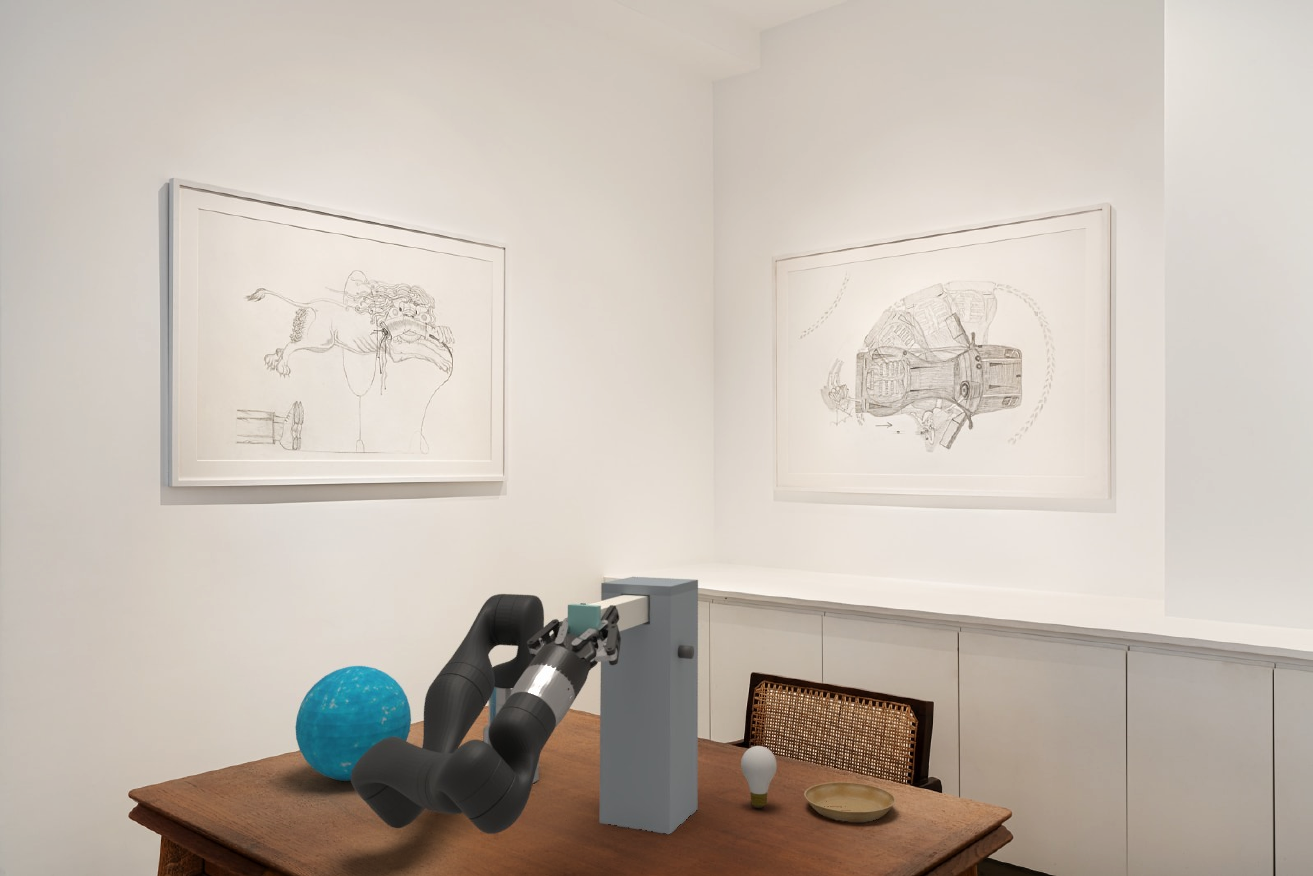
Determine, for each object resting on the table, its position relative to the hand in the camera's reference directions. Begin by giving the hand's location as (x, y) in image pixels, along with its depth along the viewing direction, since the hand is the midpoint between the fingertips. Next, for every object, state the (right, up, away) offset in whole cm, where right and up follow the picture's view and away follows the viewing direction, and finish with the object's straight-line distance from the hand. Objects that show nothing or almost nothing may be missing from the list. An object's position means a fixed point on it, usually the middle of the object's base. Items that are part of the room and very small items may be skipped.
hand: (599, 609), depth 134 cm
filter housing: (+7, -36, +15) cm, 40 cm away
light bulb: (+25, -37, +19) cm, 48 cm away
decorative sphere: (-47, -37, +34) cm, 69 cm away
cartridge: (+1, -4, +3) cm, 5 cm away
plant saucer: (+40, -37, +18) cm, 58 cm away
